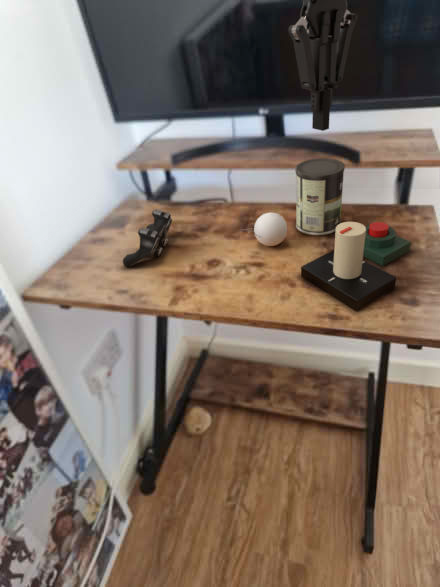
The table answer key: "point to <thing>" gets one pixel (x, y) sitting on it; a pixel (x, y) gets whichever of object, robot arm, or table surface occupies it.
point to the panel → (348, 282)
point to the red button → (378, 229)
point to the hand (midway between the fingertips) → (320, 128)
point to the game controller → (150, 238)
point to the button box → (385, 247)
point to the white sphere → (270, 229)
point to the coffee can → (319, 195)
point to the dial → (349, 249)
